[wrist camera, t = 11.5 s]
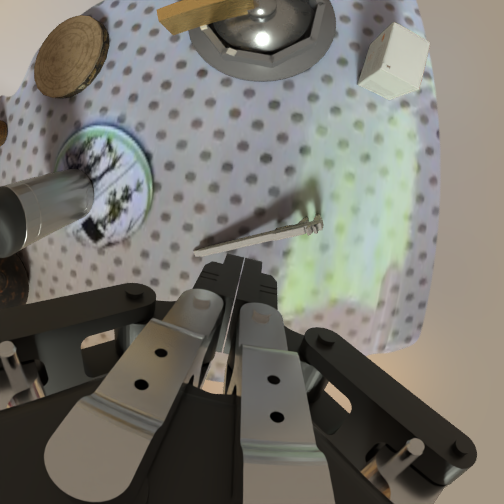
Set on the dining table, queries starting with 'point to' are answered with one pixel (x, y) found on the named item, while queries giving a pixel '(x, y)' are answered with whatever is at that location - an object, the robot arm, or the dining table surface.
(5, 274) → the glass bottle
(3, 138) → the utensil holder
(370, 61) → the small box
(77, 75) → the wooden log slice
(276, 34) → the dial
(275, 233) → the caliper
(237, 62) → the dial housing
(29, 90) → the dining table surface
